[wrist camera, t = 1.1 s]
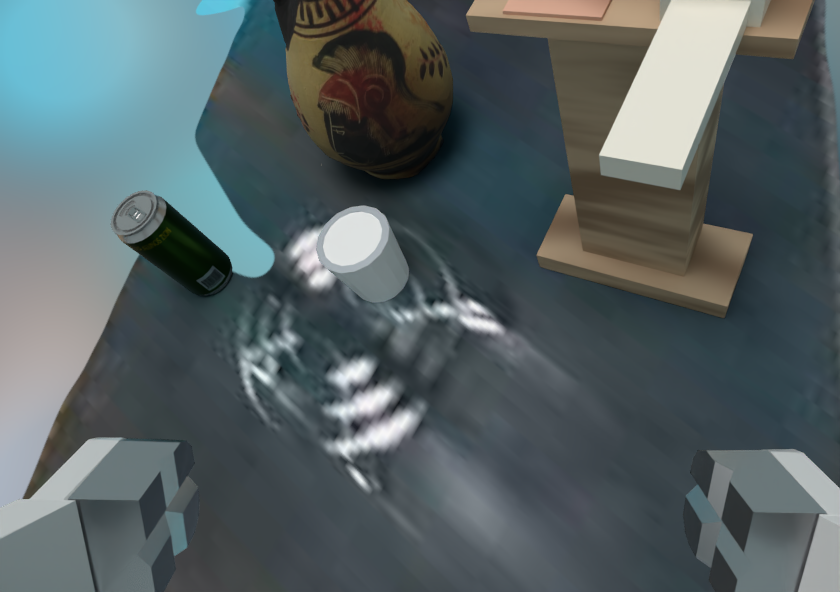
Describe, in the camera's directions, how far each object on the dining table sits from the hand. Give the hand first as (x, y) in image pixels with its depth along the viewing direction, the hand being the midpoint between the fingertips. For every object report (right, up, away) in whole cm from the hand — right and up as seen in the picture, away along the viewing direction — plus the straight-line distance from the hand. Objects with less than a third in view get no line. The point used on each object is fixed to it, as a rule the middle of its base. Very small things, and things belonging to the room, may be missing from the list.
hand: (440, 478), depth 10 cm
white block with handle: (+11, +13, +15) cm, 23 cm away
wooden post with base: (+18, +6, +40) cm, 44 cm away
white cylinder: (-4, +5, +48) cm, 48 cm away
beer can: (-23, +5, +55) cm, 59 cm away
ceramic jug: (-3, +19, +55) cm, 59 cm away
